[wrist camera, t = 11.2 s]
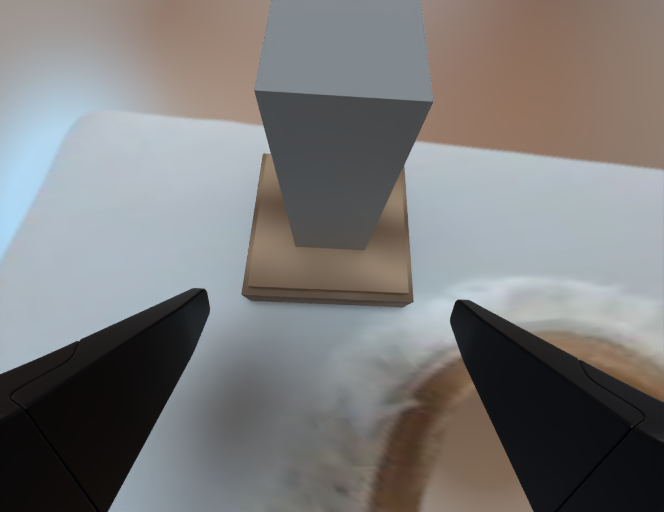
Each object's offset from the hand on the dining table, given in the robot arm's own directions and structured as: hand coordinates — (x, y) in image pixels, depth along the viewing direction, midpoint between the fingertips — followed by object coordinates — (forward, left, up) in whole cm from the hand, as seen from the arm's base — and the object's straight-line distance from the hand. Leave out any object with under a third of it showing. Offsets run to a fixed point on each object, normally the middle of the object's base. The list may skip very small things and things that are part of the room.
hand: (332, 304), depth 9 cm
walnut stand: (+8, 0, -11) cm, 13 cm away
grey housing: (+8, 0, -8) cm, 11 cm away
